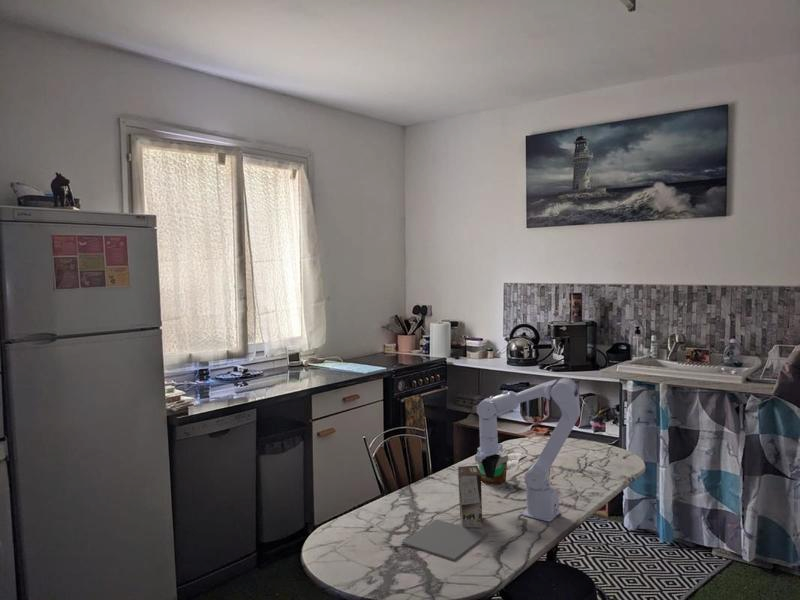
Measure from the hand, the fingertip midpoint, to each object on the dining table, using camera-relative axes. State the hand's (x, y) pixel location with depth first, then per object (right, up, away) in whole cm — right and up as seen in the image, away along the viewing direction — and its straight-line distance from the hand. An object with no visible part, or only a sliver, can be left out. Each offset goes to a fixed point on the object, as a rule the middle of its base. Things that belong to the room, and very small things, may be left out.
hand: (490, 477), depth 192 cm
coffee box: (-7, -11, -9) cm, 16 cm away
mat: (-16, -12, -21) cm, 29 cm away
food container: (+4, -9, +23) cm, 25 cm away
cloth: (+14, -8, +45) cm, 48 cm away
